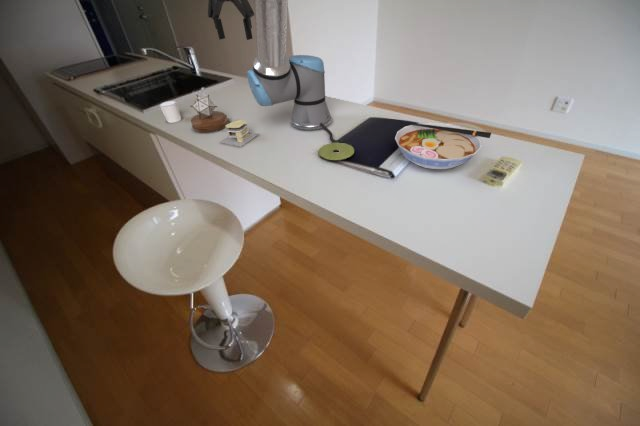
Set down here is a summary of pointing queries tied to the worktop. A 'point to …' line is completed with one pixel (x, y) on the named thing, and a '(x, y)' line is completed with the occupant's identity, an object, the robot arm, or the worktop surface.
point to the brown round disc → (209, 122)
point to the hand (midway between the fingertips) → (235, 39)
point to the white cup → (171, 111)
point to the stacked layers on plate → (238, 133)
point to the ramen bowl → (438, 144)
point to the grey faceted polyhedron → (203, 106)
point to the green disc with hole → (329, 149)
